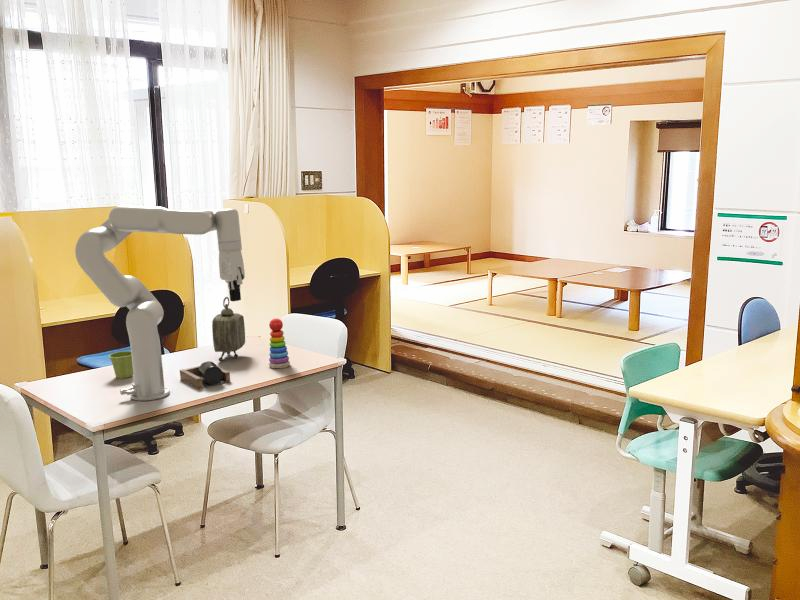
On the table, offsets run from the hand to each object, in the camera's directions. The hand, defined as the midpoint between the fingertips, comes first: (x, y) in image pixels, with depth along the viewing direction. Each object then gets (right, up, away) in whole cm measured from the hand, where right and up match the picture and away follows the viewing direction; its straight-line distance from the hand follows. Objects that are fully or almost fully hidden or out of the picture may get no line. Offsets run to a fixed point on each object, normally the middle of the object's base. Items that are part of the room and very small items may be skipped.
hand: (235, 300), depth 242 cm
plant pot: (-48, -29, +27) cm, 62 cm away
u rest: (-15, -29, +18) cm, 37 cm away
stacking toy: (+9, -26, +34) cm, 43 cm away
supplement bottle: (-10, -27, +11) cm, 30 cm away
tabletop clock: (-13, -23, +48) cm, 55 cm away
